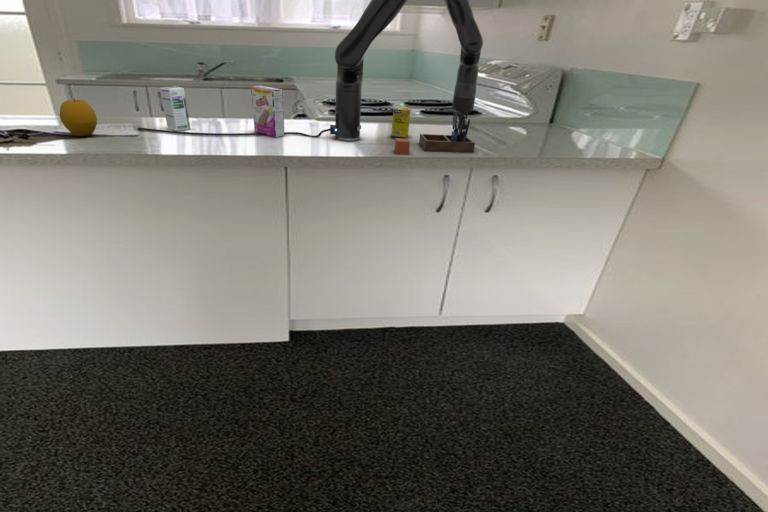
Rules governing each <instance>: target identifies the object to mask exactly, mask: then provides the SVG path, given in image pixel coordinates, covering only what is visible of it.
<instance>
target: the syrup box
mask: <svg viewBox="0 0 768 512" xmlns="http://www.w3.org/2000/svg"><path fill="white" fill-rule="evenodd" d="M159 91H160V95H161V101H162V106H163V111H164V112H163V113H164V116H165V117H164V118H165V121H166V127H167V129H168V130H169V131H179V132H181V131H186V130H191V124H190V118H189V110H188V105H187V97H186V92H185V88H184V87H182V86H175V85H173V86H165V87H164V86H162V87H159Z"/></svg>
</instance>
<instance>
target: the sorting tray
mask: <svg viewBox="0 0 768 512" xmlns="http://www.w3.org/2000/svg"><path fill="white" fill-rule="evenodd" d="M451 135H452V134H432V133H431V134H429V133H420V134H419V140H418V144H419V145H420V147H421V148H422V149H423V150H424V152H444V153H447V152H448V153H472V154H473V153H474V152H475V145H476V142H475V141H473V140H472V139H471V138H470V137H468V136H466V142H456V141H451Z"/></svg>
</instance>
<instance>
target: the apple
mask: <svg viewBox="0 0 768 512" xmlns="http://www.w3.org/2000/svg"><path fill="white" fill-rule="evenodd" d="M59 118H60V121H61V123H62V124H63V126H64V128H66V129H67V131H68V132H70V133H71V134H72V135H73V136H75V137H76V138H77V137H88V136H91V135H92V134H93V133H94V132H95V130H96V129H97V125H98V118H97V115H96V112H95V110H94V108H93V107H92V106H91V105H90V103H88V101H85V100H84V99H75V98H73V99H67V100H64V101H63V102H62V103H61V104H60V107H59Z"/></svg>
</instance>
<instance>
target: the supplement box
mask: <svg viewBox="0 0 768 512" xmlns="http://www.w3.org/2000/svg"><path fill="white" fill-rule="evenodd" d="M410 117H411V108H409V107H402V106H395V108H393V110H392V126H391V135H390V136H391V138H392V139H395V138H404V139H408V137H409V130H410Z"/></svg>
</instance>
